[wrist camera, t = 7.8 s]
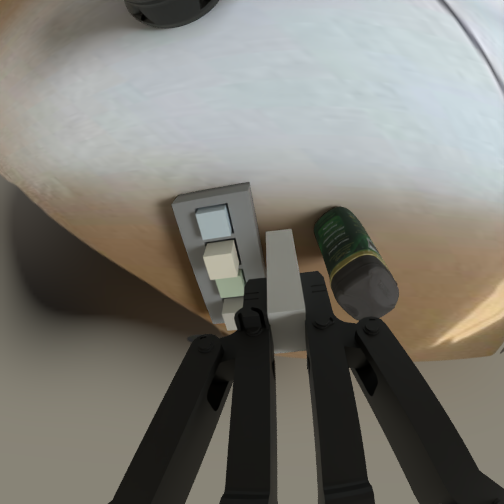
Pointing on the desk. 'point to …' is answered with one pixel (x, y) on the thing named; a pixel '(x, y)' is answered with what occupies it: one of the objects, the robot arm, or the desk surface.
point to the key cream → (221, 260)
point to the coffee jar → (355, 266)
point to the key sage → (232, 285)
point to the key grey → (231, 311)
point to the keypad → (241, 233)
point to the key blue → (214, 221)
